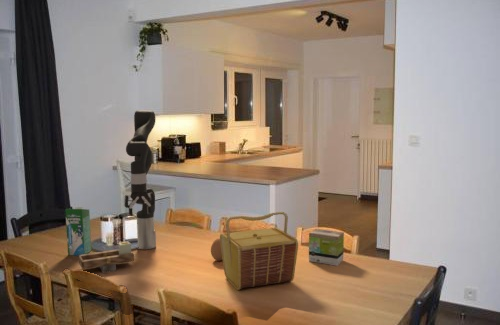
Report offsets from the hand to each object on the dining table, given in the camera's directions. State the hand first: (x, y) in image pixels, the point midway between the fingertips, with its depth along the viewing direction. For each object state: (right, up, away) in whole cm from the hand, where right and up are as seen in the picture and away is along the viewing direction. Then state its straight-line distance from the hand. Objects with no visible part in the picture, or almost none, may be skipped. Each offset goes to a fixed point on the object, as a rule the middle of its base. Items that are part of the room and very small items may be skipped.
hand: (139, 214), depth 239 cm
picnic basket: (+58, -27, -25) cm, 69 cm away
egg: (+39, -24, +3) cm, 46 cm away
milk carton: (-37, -23, +20) cm, 47 cm away
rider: (-7, -20, -2) cm, 22 cm away
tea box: (+92, -23, 0) cm, 95 cm away
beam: (-15, -25, -5) cm, 30 cm away
